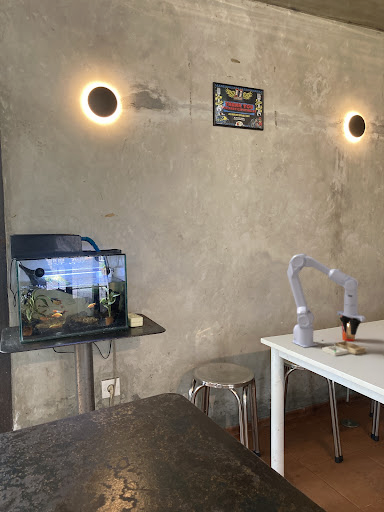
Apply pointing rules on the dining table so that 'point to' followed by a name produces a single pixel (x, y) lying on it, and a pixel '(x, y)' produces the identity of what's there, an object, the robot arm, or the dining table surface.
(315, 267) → the robot arm
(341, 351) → the white square frame
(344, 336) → the paper cup
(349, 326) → the battery cell
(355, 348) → the wooden trough
